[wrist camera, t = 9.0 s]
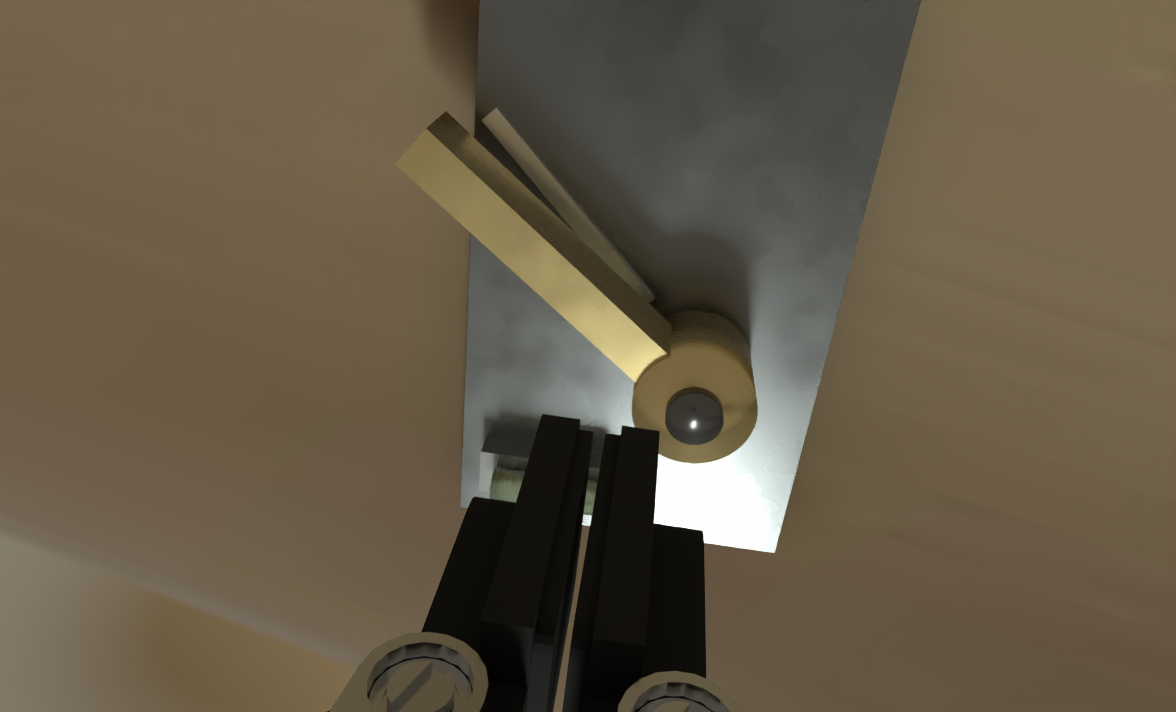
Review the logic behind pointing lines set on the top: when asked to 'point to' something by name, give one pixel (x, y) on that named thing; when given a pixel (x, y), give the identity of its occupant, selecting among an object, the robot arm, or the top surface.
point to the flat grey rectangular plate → (678, 217)
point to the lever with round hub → (599, 301)
